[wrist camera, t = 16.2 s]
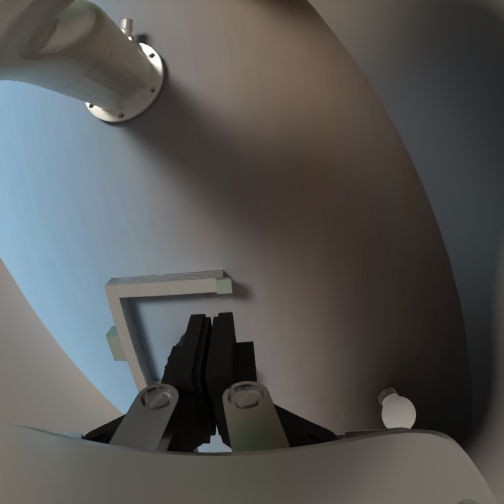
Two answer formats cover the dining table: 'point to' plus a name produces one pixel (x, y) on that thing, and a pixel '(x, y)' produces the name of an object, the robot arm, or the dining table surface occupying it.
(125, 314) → the mounting bracket
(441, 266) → the dining table surface
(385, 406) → the light bulb
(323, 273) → the dining table surface
